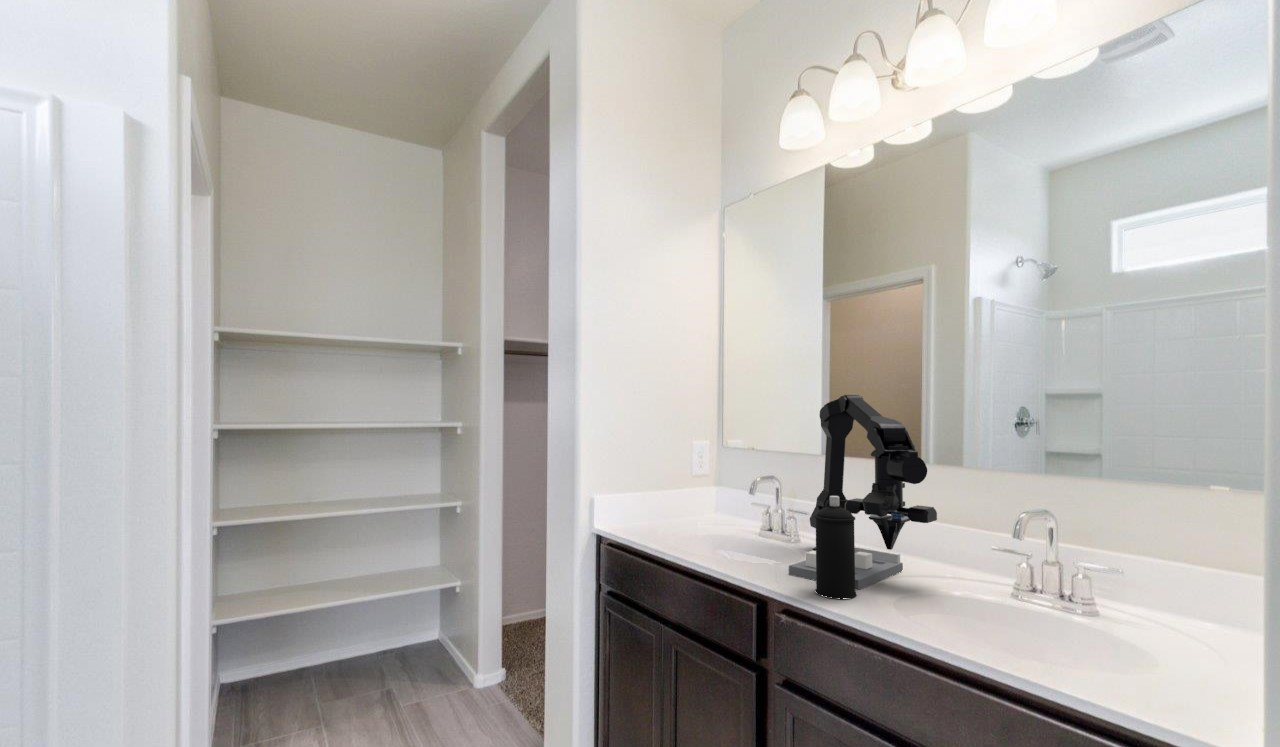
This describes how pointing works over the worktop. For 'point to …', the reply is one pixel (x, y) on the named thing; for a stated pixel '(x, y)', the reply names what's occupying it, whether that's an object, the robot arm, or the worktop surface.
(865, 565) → the block
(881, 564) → the breaker panel
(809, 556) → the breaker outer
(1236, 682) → the worktop surface
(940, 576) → the worktop surface
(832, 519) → the aerosol can
